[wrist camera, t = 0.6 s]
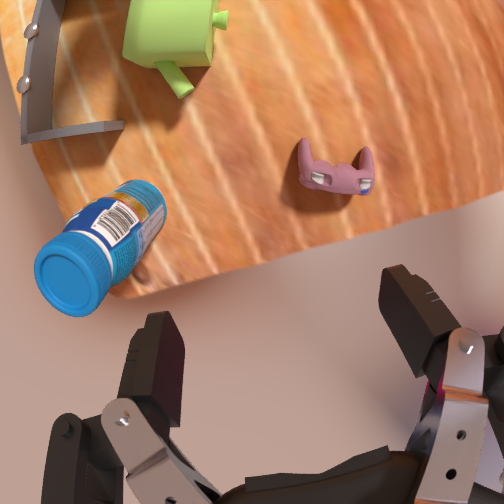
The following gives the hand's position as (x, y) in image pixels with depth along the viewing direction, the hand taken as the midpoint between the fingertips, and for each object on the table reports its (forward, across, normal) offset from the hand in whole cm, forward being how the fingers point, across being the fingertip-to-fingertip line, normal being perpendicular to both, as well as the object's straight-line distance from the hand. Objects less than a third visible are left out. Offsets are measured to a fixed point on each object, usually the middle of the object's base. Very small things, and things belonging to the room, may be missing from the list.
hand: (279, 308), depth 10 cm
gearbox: (+31, +3, -16) cm, 35 cm away
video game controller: (+28, -11, +4) cm, 30 cm away
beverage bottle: (+28, +15, +5) cm, 32 cm away
